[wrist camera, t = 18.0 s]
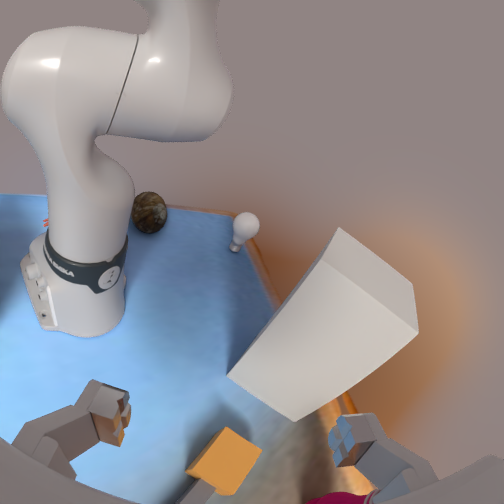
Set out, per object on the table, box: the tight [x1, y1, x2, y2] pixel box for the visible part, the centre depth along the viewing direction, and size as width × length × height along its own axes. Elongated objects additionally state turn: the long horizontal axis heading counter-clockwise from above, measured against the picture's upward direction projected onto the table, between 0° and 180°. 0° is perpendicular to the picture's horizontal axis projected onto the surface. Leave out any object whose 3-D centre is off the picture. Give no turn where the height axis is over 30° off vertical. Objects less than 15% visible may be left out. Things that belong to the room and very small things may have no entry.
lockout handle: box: [175, 426, 262, 504], centre depth 21 cm, size 6×22×4 cm, turn 150°
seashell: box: [131, 192, 167, 233], centre depth 59 cm, size 11×9×8 cm
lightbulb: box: [229, 212, 260, 252], centre depth 66 cm, size 6×6×11 cm
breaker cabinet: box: [227, 227, 419, 422], centre depth 38 cm, size 14×13×26 cm
